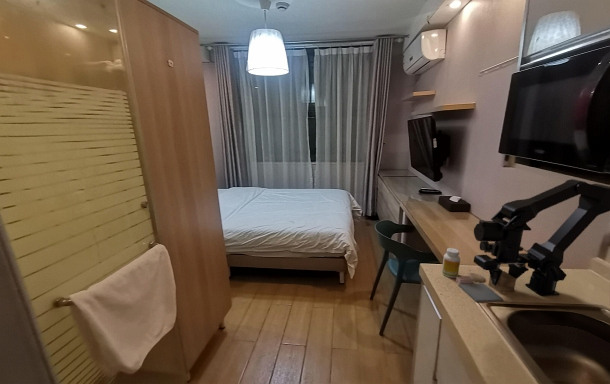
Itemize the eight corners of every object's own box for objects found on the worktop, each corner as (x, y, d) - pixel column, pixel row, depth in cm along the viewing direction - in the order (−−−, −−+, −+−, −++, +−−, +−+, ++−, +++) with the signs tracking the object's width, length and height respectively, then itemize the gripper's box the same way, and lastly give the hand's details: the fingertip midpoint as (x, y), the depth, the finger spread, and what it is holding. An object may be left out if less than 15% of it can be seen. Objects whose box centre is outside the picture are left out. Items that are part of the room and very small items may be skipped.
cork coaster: (477, 274, 103) (477, 272, 103) (489, 283, 97) (489, 281, 97) (462, 274, 103) (462, 273, 103) (473, 283, 97) (473, 282, 97)
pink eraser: (468, 280, 98) (469, 275, 98) (472, 283, 96) (473, 278, 96) (455, 281, 98) (456, 276, 97) (459, 284, 96) (460, 279, 95)
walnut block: (501, 283, 96) (504, 271, 95) (513, 292, 91) (516, 278, 90) (488, 284, 96) (490, 271, 95) (499, 293, 91) (501, 279, 90)
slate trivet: (482, 284, 96) (483, 283, 95) (503, 300, 87) (503, 299, 87) (458, 285, 95) (458, 284, 95) (476, 302, 86) (476, 300, 86)
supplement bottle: (459, 278, 99) (463, 254, 97) (443, 277, 100) (447, 252, 98) (455, 271, 104) (458, 247, 102) (439, 269, 105) (443, 246, 103)
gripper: (516, 231, 98) (508, 271, 102) (466, 233, 97) (460, 273, 100) (545, 244, 87) (535, 288, 91) (489, 246, 86) (481, 290, 89)
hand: (501, 284), depth 93 cm, fingers closed on walnut block, 5 cm apart
